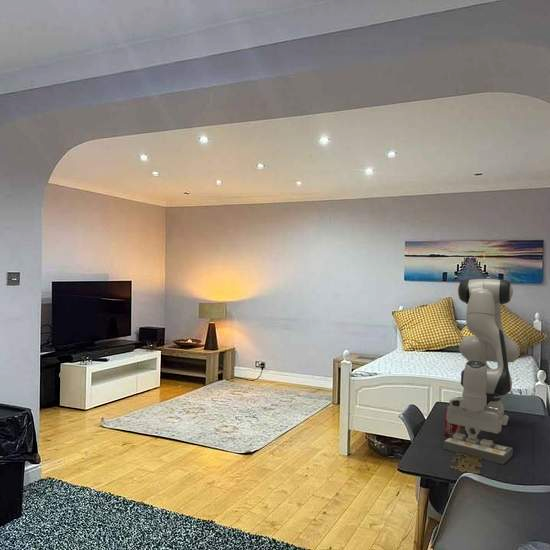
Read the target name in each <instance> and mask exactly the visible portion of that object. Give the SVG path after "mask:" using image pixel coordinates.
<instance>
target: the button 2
mask: <svg viewBox="0 0 550 550" xmlns="http://www.w3.org/2000/svg"><path fill="white" fill-rule="evenodd" d="M479 440H480V439H479V438H477V440H472V439H468V438H467V439H466V442H469V443H473V444H477V443H479Z"/></svg>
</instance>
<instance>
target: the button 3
mask: <svg viewBox="0 0 550 550" xmlns="http://www.w3.org/2000/svg"><path fill="white" fill-rule="evenodd" d="M480 440H481V441H480V445H481V446H485V447H489V448H491V447H492V446H493V443H494V442H493V440H490V439H485V438H482V439H480Z"/></svg>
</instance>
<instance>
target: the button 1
mask: <svg viewBox="0 0 550 550" xmlns="http://www.w3.org/2000/svg"><path fill="white" fill-rule="evenodd" d="M465 437H466V434H465V433H462V434H460V433H455V434H453V439H457V440H461V441H463V440H465Z"/></svg>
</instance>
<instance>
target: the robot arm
mask: <svg viewBox="0 0 550 550" xmlns="http://www.w3.org/2000/svg"><path fill="white" fill-rule="evenodd" d="M513 294H514V289H513V286H512V284H511V282H510V280H507V279H495V278H475V279H474V278H473V279H471V278H467V279H462V280H461V281H460V282H459V285H458V287H457V296H458V299H459V300H460V301H461V302H462V303H465V304H467V307H466V316H465V317H466V319H465V321H466V322H465V324H466V328H467V329H468V331H469V332H470V334H472V335H470V336H464V337H463V338H461V340H460V341H459V346H458V347H459V348H458V349H459V350H458V351H459V352H460V355H462V357H464V358H465V360H467V362H465V365H464V369H462V371H461V373H460V374H461V375H460V376H461V377H460V385H461V386H462V387H463V390H462V395H461V396H459V397H454V398H452V399H451V398H450V400H449V403H448V404H449V405H448V406H449V407H448V409H447V408H446V409H447V414H446V420H447V422H448V423H452V424H456V425H461V426H463V427H465V431H466V434H467V437H468V439H472V440H477V439H478V435H479V434H480V432H481V431H484V432H488V433H493V434H499V433H500V432H501V431H502V426H507V425H508V422H509V418H510V416H508V415H506V414H505V413H504V412H505V411H504V410H505V408H504V407H505V406H504V404H503V403H502V401H501V399H502V397H503V396H505V395H508V393H510V392H511V391H512V387H513V380H512V376H511V373H510V369H509V363H514V362H516V360H517V359H518V358H519V355H520V349H519V346H518V344H517V343H516V342H515V341H514V340H512V339H511V338H510V337H509V336H508V335H507V333H506V332H505V330H504V328H503V324H502V323H503V322H502V307H501V305H505V304H509V303H510V302H511V299H512V298H513ZM487 362H492V363H496V364H497V368H491V367H490V366H489V365H488V363H487ZM471 429H474V432H475V434H474V433H472V432H471Z"/></svg>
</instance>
